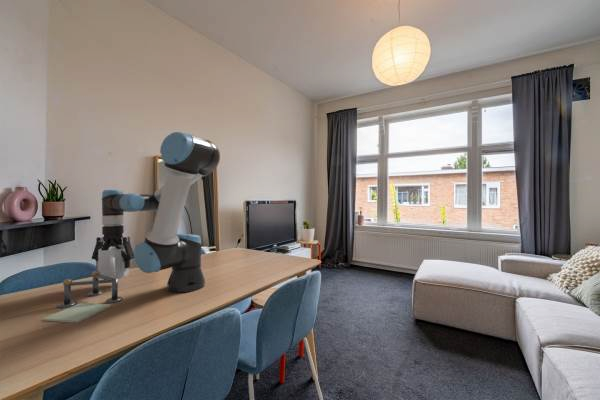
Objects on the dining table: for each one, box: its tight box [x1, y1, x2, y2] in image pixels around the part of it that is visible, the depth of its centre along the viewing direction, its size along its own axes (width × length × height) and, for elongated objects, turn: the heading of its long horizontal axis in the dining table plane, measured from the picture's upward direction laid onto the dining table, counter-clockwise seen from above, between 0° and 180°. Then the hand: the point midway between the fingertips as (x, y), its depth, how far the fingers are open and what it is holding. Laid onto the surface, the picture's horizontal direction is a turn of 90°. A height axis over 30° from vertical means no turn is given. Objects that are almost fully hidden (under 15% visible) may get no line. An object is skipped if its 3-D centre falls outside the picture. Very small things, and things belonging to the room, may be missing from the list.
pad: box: [42, 302, 112, 324], centre depth 83 cm, size 12×12×1 cm
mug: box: [98, 246, 127, 280], centre depth 108 cm, size 15×11×13 cm
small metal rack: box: [57, 270, 124, 309], centre depth 94 cm, size 18×16×9 cm
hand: (113, 275), depth 109 cm, fingers closed on mug, 11 cm apart
